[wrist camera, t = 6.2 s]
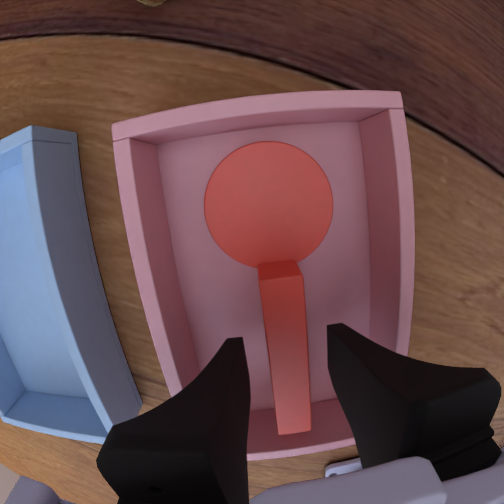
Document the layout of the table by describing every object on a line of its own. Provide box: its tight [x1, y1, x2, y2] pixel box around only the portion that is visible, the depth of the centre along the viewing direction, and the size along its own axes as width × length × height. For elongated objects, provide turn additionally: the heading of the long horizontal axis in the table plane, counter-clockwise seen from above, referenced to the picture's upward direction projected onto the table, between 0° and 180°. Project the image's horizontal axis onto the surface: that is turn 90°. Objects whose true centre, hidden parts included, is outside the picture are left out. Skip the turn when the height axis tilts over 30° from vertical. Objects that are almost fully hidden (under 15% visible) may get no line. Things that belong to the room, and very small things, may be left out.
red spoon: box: [204, 141, 333, 435], centre depth 11 cm, size 11×5×3 cm, turn 7°
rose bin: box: [111, 90, 415, 461], centre depth 12 cm, size 14×9×4 cm, turn 7°
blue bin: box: [0, 125, 143, 444], centre depth 12 cm, size 14×9×4 cm, turn 7°
